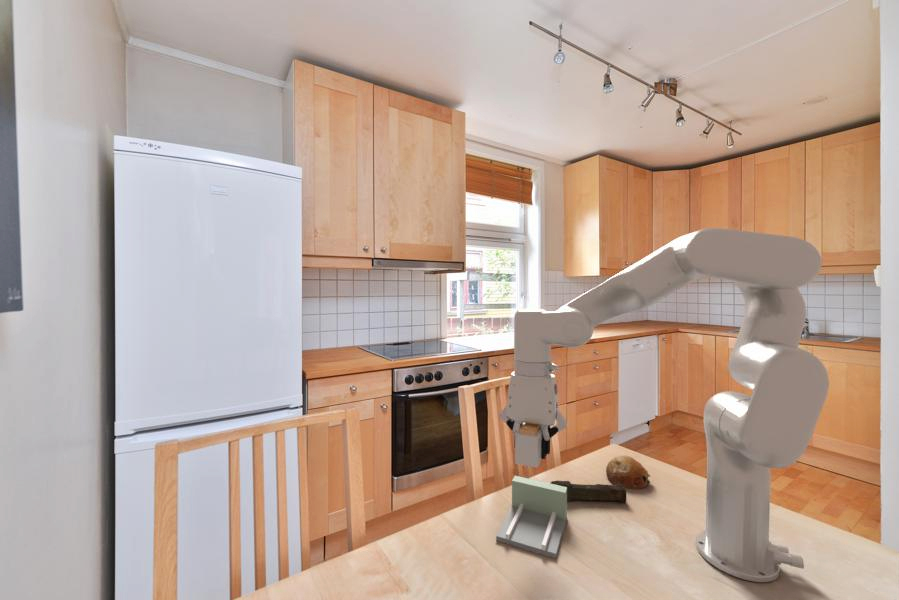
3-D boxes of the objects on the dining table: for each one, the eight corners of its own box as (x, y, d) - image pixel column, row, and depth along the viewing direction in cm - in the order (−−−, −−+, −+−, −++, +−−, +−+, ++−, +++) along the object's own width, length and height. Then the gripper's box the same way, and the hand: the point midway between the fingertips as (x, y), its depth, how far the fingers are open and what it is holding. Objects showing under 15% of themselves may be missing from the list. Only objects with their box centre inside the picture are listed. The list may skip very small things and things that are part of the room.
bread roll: (624, 481, 106) (612, 452, 108) (659, 479, 98) (646, 448, 101) (606, 494, 99) (595, 463, 102) (643, 493, 92) (629, 459, 94)
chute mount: (566, 517, 84) (567, 487, 83) (556, 558, 71) (556, 523, 71) (514, 504, 89) (514, 475, 89) (496, 540, 76) (496, 507, 76)
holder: (547, 447, 82) (547, 418, 81) (537, 467, 73) (537, 434, 72) (527, 444, 84) (527, 415, 83) (515, 463, 75) (515, 430, 74)
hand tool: (621, 496, 92) (621, 478, 92) (627, 506, 88) (627, 486, 88) (543, 493, 94) (543, 475, 94) (546, 503, 90) (546, 484, 90)
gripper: (577, 368, 77) (576, 454, 78) (499, 361, 85) (499, 440, 85) (572, 376, 70) (571, 470, 71) (488, 368, 78) (488, 453, 79)
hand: (532, 453), depth 78 cm, fingers closed on holder, 4 cm apart
